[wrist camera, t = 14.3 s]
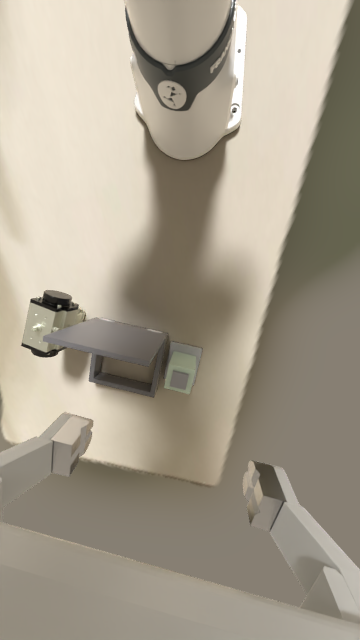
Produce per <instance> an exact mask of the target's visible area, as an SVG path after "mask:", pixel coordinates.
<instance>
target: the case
mask: <svg viewBox="0 0 360 640" xmlns="http://www.w3.org/2000/svg"><path fill="white" fill-rule="evenodd" d="M167 338H168V333H164V332H161V331H156V330H152V329H146V328H142V327H138V326H133V325H129V324H125V323H120V322H116V321H113V320H109V319H104V318H93V319H91V320H88V321H85V322H82V323H79V324H76V325H73V326H70V327H67V328H65V329H62V330H59V331H56V332H53V333H50V334H47V335H44V336H43V342H47V343H51V344H55V345H60V346H64V347H68V348H72V349H76V350H80V351H85V352H89V353H92V358H91V366H90V375H89V382H93V383H97V384H102V385H106V386H110V387H114V388H118V389H122V390H126V391H130V392H134V393H138V394H142V395H146V396H150V397H154V396H155V394H156V391H157V387H158V382H159V377H160V372H161V367H162V362H163V357H164V353H165V348H166V343H167ZM158 350H159V351H158ZM157 352H158V356H157V361H156V366H155V371H154V376H153V381H152V385H150V384H146V383H142V382H138V381H134V380H130V379H126V378H122V377H118V376H114V375H110V374H106V373H102V372H100V370H101V363H102V356H105V357H109V358H114V359H118V360H122V361H126V362H130V363H134V364H139V365H143V366H147V367H149V365H150V364H151V362H152V360H153V359H154V357H155V355H156V354H157Z"/></svg>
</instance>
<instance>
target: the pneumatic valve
mask: <svg viewBox="0 0 360 640" xmlns="http://www.w3.org/2000/svg"><path fill="white" fill-rule="evenodd" d="M71 300H72V297H71V296H70V295H68V294H66V293H63V292H59V291H53V290H46V291H44V294H43V298H41V297H37V298H33V299H31V301H30V305H29V310H28V315H27V320H26V325H25V330H24V335H23V340H22V345H21V346H23V347H26V348H28V349H31V352H32V353H33V354H34V355H36V356H39V357H53V356H56V355H57V354H58V352H59V351H61V350H63V349H65V348H67V347H64V346H60V345H55V344H51V343H47V342H43V336H44V335H47V334H50V333H53V332H56V331H59V330H62V329H65V328H67V327H70V326H73V325H76V324H79V323H82V322H83V320H84V316H85V311H84V310H83V311H82V312H81V311H80V310H81V307H79V305H78V304H76V303H73V302H71Z"/></svg>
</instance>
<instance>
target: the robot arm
mask: <svg viewBox="0 0 360 640" xmlns="http://www.w3.org/2000/svg"><path fill="white" fill-rule="evenodd" d="M124 1H125V12H126V21H127V27H128V31H129V38H130V42H131V46H132V50H133V55H132V57H131V59H130V64H131V69H132V73H133V78H134V82H135V86H136V90H137V92H136V96H135V99H134V105H135V109H136V112H137V113H138V115H139V116H140V117H141V118H142V119H143V120H144V121H145V122H146V124H147V127H148V129H149V132H150V135H151V137H152V139H153V141H154V142H155V144H156V145H157V147H158V148H159V149H160V150H161V151H162V152H164V153H165V154H167V155H168V156H170V157H173V158H175V159H180V160H189V159H194V158H197V157H200V156H202V155H204V154H205V153H207V152H208V151H210V150H211V149H212V148H213V147H214V146H215V145H216V144H217V142H218V141H219V140H220V139H221V138H222V137H223V136H225V135H227V134H229V133H231V132H233V131H234V130H236V129H237V128H238V127H239V125H240V122H241V112H242V96H243V80H244V64H245V48H246V32H247V14H246V13H245V11H244V10H243V9H242V8H241V7H240V6H239V5H238V0H124ZM232 111H236V113H233V112H232ZM92 427H93V420H91V419H88V418H84V417H81V416H77V415H73V414H70V413H66V412H65V413H63V414H61V415H60V416H59V417H58V418H57V419H56V420H55V421H54V422H53V423H52V424H51V425H50V426H49V427H48V428H47V429H46V430H45V431H44V433H43V434H42V435H41V436H40V437H34V438H31V439H29V440H27V441H25V442H22V443H20V444H18V445H16V446H13V447H11V448H9V449H7V450H4V451H2V452H0V640H360V570H359V568H358V567H357V566H356V565H355V564H354V563H353V562H352V561H351V560H350V558H349V557H348V556H347V555H346V554H345V553H344V552H343V551H342V550H341V548H340V547H339V546H338V545H337V544H336V543H335V542H334V541H333V539H332V538H331V537H329V535H328V534H327V533H326V532H325V531H324V529H323V528H322V527H321V526H320V525H319V524H318V523H317V522H316V521H315V520H314V518H313V517H312V516H311V515H310V514H309V513H308V512H307V511H306V510H305V508H304V507H302V506H300V505H299V503H298V500H297V498H296V496H295V494H294V491H293V489H292V487H291V485H290V482H289V480H288V478H287V475H286V473H285V471H284V469H283V468H281V467H277V466H273V465H269V464H265V463H261V462H257V461H253V460H251V461H250V462H249V464H248V469H249V471H247V472H246V473H245V475H244V478H243V492H244V496H245V498H246V500H247V501H248V506H247V512H248V517H249V522H250V526H253V527H256V528H259V529H262V530H266V531H269V532H270V534H271V536H272V538H273V540H274V541H275V543H276V545H277V546H278V548H279V550H280V551H281V553H282V554H283V556H284V558H285V560H286V561H287V563H288V565H289V566H290V568H291V570H292V571H293V573H294V574H295V576H296V578H297V580H298V581H299V583H300V585H301V586H302V588H303V590H304V591H305V593H306V595H307V596H306V597H305V599H304V601H303V602H302V604H301V606H300V607H296V606H293V605H289V604H285V603H282V602H279V601H275V600H272V599H268V598H265V597H261V596H258V595H254V594H251V593H247V592H243V591H240V590H237V589H233V588H229V587H226V586H223V585H219V584H216V583H212V582H209V581H205V580H201V579H198V578H195V577H191V576H188V575H184V574H181V573H178V572H174V571H171V570H167V569H164V568H160V567H156V566H153V565H150V564H146V563H142V562H139V561H135V560H132V559H129V558H125V557H121V556H118V555H114V554H110V553H107V552H104V551H101V550H97V549H94V548H90V547H86V546H83V545H80V544H76V543H73V542H69V541H66V540H62V539H59V538H55V537H51V536H48V535H45V534H41V533H38V532H34V531H30V530H27V529H24V528H20V527H16V526H13V525H10V524H6V523H3V508H4V507H5V506H6V505H8V504H9V503H10V502H12V501H13V500H15V499H16V498H18V497H19V496H21V495H22V494H23V493H25V492H26V491H28V490H29V489H30V488H32V487H33V486H35V485H36V484H38V483H39V482H40V481H42V480H43V479H44V478H46V477H47V476H49V475H50V474H51V473H56V474H60V475H64V476H68V477H69V476H70V474H71V473H72V472H73V470H74V469H75V467H76V466H77V464H78V461H79V457H80V456H82V455H83V454H84V453H85V452H86V450H87V448H88V446H89V444H90V441H91V438H92V432H91V428H92Z"/></svg>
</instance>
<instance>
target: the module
mask: <svg viewBox="0 0 360 640" xmlns="http://www.w3.org/2000/svg"><path fill="white" fill-rule="evenodd" d="M195 371H196V356H194V355H189V354H185V353H181V352H177V351H174V352H173V355H172V357H171V360H170V363H169V367H168V371H167V376H166V381H165V385H164V388H166V389H170V390H174V391H178V392H182V393H186V394H190V391H191V387H192V383H193V379H194V375H195Z"/></svg>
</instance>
